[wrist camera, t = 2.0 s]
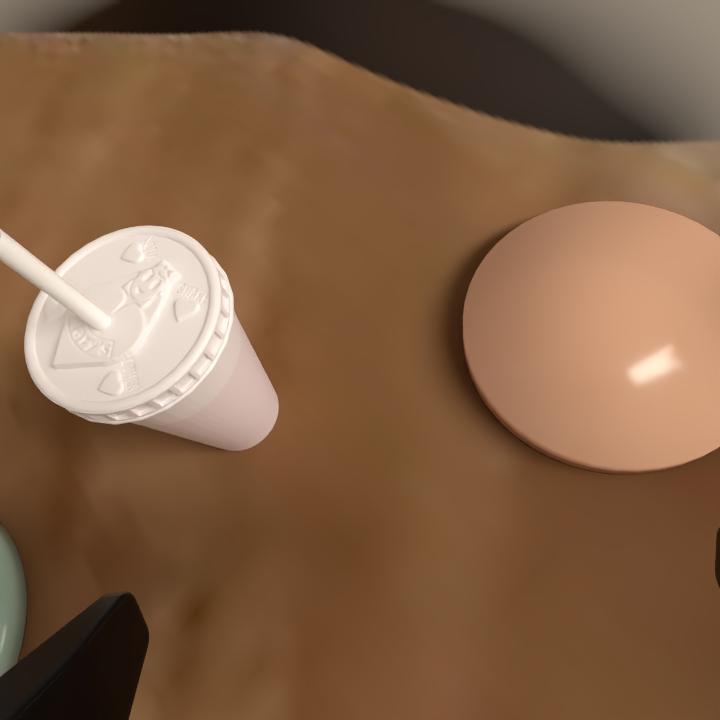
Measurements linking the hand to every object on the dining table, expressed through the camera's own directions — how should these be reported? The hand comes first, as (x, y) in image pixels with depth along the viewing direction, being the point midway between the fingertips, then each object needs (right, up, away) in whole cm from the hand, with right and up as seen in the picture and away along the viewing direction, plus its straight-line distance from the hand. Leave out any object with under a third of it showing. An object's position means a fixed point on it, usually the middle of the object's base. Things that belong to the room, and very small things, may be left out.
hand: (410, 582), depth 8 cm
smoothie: (-6, +1, +17) cm, 18 cm away
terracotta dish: (+10, +5, +15) cm, 18 cm away
